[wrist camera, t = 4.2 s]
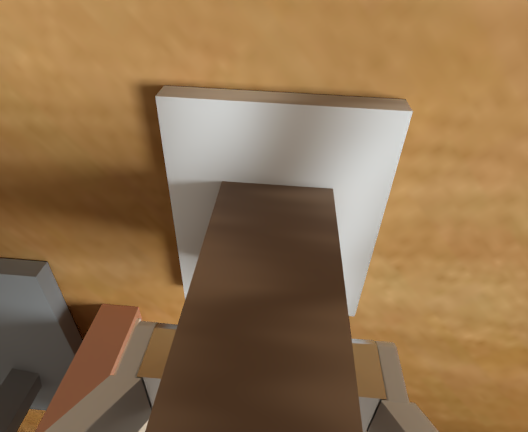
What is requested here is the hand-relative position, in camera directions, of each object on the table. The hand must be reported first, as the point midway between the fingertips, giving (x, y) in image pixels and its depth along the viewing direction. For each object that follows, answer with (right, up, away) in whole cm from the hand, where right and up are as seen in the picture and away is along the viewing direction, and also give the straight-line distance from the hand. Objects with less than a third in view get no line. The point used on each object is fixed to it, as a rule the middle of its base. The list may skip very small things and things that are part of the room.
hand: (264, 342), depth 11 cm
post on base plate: (+1, +4, +5) cm, 6 cm away
